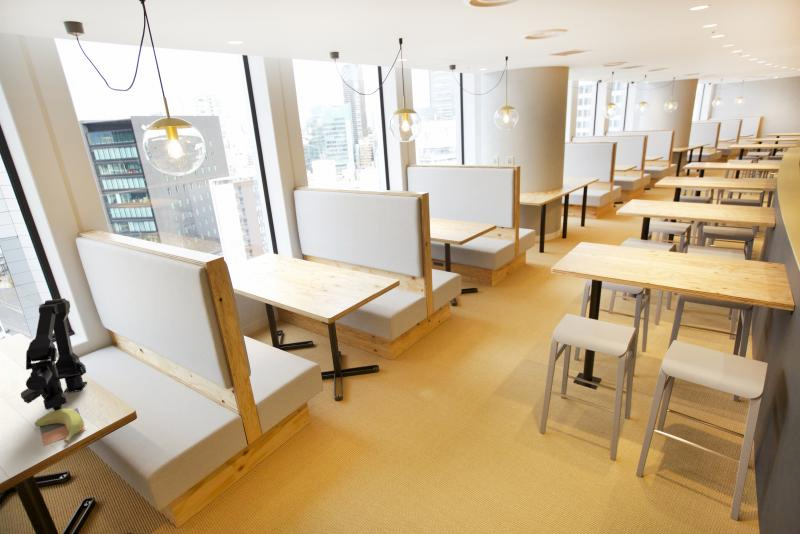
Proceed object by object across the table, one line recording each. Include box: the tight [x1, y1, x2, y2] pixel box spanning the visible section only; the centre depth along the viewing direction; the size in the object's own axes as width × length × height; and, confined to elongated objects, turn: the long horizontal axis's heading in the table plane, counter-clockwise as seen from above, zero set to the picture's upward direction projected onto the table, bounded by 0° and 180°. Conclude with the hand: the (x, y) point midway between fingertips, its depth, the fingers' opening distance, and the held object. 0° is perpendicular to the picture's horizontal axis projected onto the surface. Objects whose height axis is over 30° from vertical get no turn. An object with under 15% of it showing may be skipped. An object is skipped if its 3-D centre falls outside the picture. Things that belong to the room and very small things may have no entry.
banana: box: [34, 408, 85, 444], centre depth 155 cm, size 14×6×20 cm
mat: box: [39, 407, 81, 435], centre depth 162 cm, size 10×12×1 cm
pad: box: [40, 424, 86, 447], centre depth 156 cm, size 8×12×1 cm, turn 133°
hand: (58, 412), depth 163 cm, fingers closed
